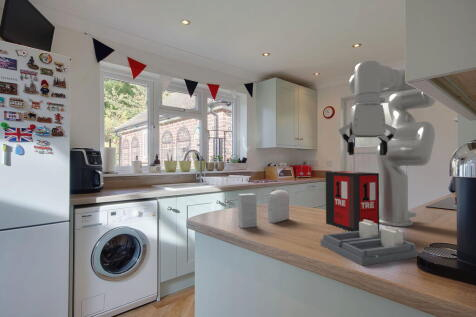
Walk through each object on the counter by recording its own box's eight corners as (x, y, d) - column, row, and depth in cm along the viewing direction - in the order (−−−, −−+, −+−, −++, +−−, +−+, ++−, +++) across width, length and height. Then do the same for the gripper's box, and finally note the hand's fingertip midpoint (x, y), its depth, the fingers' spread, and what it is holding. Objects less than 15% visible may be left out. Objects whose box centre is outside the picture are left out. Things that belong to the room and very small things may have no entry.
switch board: (370, 238, 82) (370, 228, 82) (419, 256, 67) (419, 244, 67) (320, 244, 77) (320, 234, 77) (361, 265, 61) (361, 252, 61)
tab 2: (389, 244, 72) (389, 225, 72) (403, 248, 68) (403, 228, 68) (381, 245, 71) (381, 226, 71) (394, 250, 67) (394, 229, 67)
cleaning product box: (379, 232, 89) (378, 173, 90) (358, 234, 86) (358, 173, 87) (344, 221, 105) (344, 171, 105) (326, 223, 102) (325, 171, 102)
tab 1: (367, 236, 79) (367, 218, 79) (378, 239, 76) (377, 221, 76) (359, 237, 78) (359, 219, 78) (369, 241, 75) (369, 222, 75)
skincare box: (252, 224, 101) (252, 193, 101) (257, 226, 97) (256, 194, 97) (237, 225, 100) (237, 193, 100) (241, 228, 96) (241, 195, 96)
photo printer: (275, 223, 102) (274, 191, 102) (266, 221, 105) (266, 190, 105) (290, 219, 109) (290, 189, 109) (282, 217, 112) (282, 188, 112)
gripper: (390, 104, 87) (390, 155, 87) (336, 104, 89) (335, 155, 88) (401, 98, 80) (401, 155, 79) (342, 99, 81) (342, 154, 81)
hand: (367, 155), depth 84 cm, fingers open, 9 cm apart
